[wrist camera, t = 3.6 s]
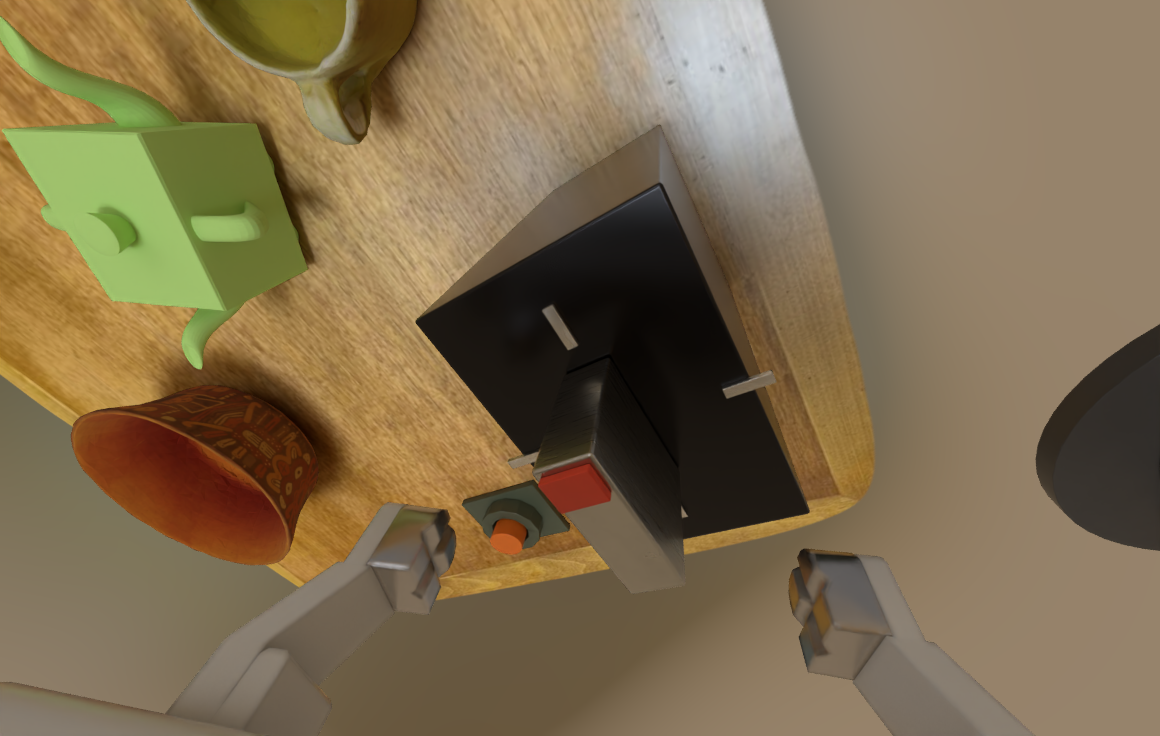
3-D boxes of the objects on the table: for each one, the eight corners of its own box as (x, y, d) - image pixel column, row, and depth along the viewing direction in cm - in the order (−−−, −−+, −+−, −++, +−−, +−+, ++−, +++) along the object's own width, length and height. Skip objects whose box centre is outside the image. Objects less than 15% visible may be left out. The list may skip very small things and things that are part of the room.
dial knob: (680, 471, 14) (687, 596, 11) (637, 482, 15) (630, 604, 11) (610, 355, 12) (589, 462, 9) (563, 374, 13) (526, 481, 9)
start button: (515, 514, 46) (510, 531, 44) (533, 535, 48) (528, 551, 46) (489, 521, 47) (483, 537, 46) (507, 540, 49) (502, 556, 47)
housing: (533, 479, 46) (527, 498, 44) (570, 525, 49) (566, 544, 47) (463, 499, 49) (455, 517, 47) (501, 541, 53) (495, 559, 51)
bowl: (215, 477, 55) (136, 545, 47) (135, 335, 43) (10, 393, 35) (367, 508, 53) (314, 584, 45) (327, 370, 42) (245, 439, 33)
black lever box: (738, 284, 31) (831, 514, 14) (624, 333, 34) (592, 562, 18) (669, 117, 26) (687, 167, 9) (545, 195, 29) (396, 332, 13)
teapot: (292, 315, 39) (183, 381, 30) (143, 209, 35) (-31, 248, 26) (359, 184, 31) (239, 220, 22) (178, 31, 27) (-51, 3, 19)
